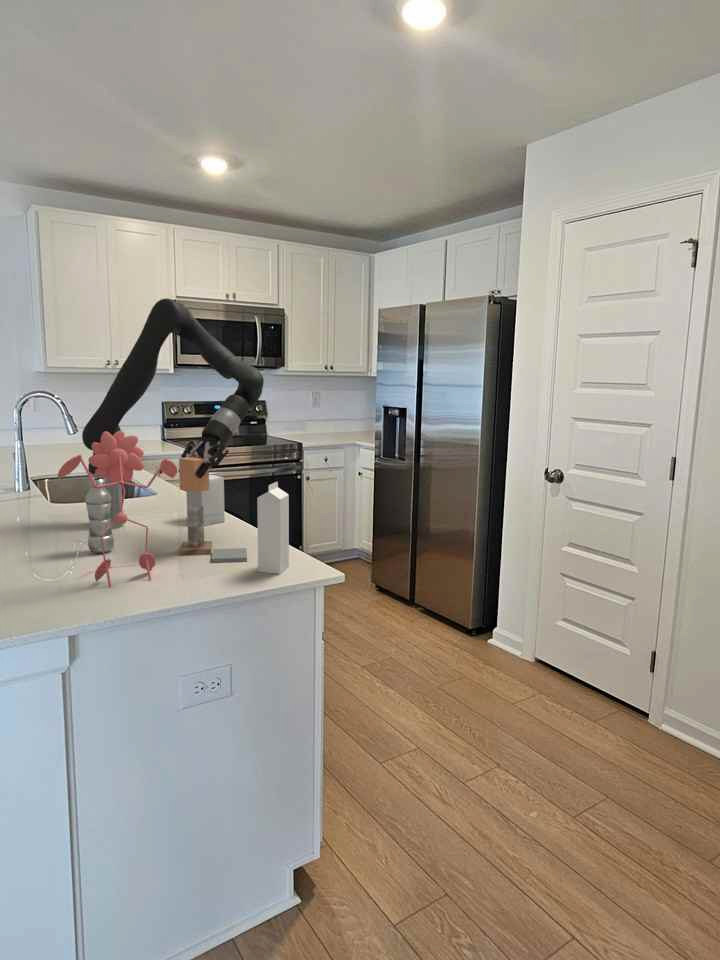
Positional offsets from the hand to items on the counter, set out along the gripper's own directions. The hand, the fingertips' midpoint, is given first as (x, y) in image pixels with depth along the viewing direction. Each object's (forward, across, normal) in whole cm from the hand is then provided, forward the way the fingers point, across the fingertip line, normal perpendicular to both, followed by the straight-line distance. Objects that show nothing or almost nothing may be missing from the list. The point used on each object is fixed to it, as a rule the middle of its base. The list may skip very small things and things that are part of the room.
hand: (189, 474), depth 165 cm
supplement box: (-3, -22, +34) cm, 41 cm away
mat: (+13, +12, +17) cm, 24 cm away
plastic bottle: (+26, -19, +5) cm, 32 cm away
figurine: (+32, +2, -1) cm, 32 cm away
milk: (+13, +28, +17) cm, 35 cm away
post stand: (+14, 0, +16) cm, 21 cm away
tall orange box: (+2, 0, +4) cm, 5 cm away
